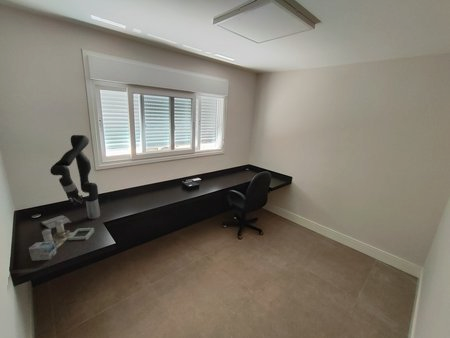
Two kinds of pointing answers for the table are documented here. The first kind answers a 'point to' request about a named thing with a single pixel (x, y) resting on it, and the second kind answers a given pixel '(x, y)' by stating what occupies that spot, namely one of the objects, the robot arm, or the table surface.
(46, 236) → the fuse
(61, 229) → the fuse marked
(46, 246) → the light bulb box
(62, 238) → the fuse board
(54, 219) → the gadget
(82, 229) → the tray
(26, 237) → the table surface
